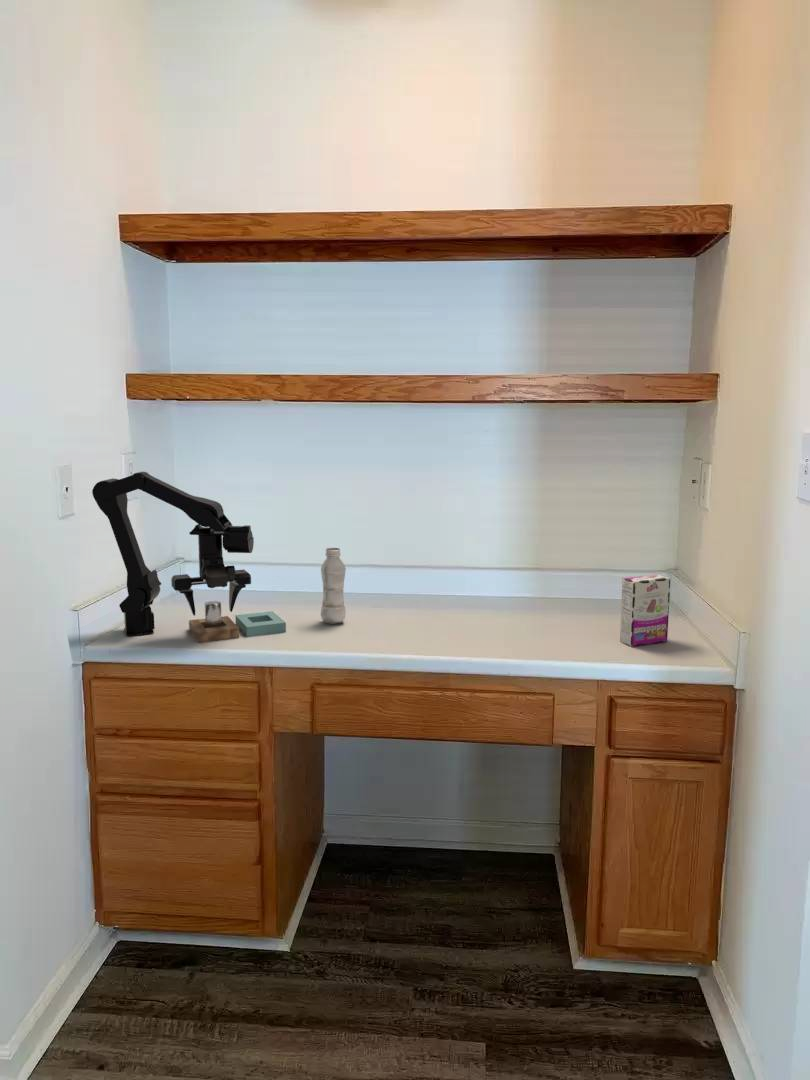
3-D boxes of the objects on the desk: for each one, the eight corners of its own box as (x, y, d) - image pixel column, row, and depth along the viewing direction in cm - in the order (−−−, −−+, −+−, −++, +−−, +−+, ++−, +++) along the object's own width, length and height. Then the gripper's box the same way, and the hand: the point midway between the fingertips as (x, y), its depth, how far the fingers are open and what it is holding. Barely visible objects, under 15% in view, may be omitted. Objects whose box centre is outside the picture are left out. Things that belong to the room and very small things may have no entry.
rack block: (247, 636, 196) (247, 627, 196) (235, 624, 207) (235, 615, 207) (285, 632, 201) (285, 622, 200) (272, 620, 211) (272, 611, 211)
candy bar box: (654, 636, 199) (658, 573, 196) (667, 642, 195) (672, 577, 192) (617, 641, 195) (621, 577, 192) (630, 647, 191) (635, 581, 188)
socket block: (198, 642, 191) (198, 632, 191) (189, 629, 202) (188, 620, 201) (239, 637, 196) (239, 628, 195) (228, 625, 206) (227, 616, 206)
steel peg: (207, 636, 196) (206, 605, 195) (204, 632, 200) (203, 602, 198) (223, 634, 198) (222, 604, 196) (220, 630, 201) (219, 600, 200)
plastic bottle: (329, 618, 214) (328, 545, 210) (350, 621, 211) (350, 548, 207) (315, 624, 208) (315, 549, 205) (337, 627, 205) (337, 552, 201)
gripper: (177, 561, 184) (180, 625, 187) (256, 555, 192) (257, 617, 195) (169, 552, 194) (172, 614, 197) (244, 547, 202) (246, 606, 205)
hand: (212, 613), depth 198 cm, fingers open, 9 cm apart
